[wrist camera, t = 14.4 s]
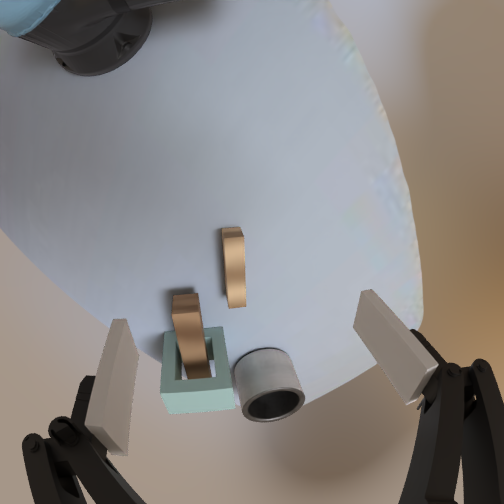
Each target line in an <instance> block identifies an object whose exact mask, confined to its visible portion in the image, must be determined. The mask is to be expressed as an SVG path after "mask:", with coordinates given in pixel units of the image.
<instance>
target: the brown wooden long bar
mask: <svg viewBox="0 0 504 504" xmlns="http://www.w3.org/2000/svg"><path fill="white" fill-rule="evenodd" d="M172 319H173V323H174V327H175V332H176V336H177V340H178V344H179V348H180V352H181V356H182V359H183V363H184V367H185V370H186V374H187V378H188V380H189V379H201V378H212V375H211V370H210V364H209V359H208V353H207V347H206V341H205V335H204V329H203V323H202V316H201V310H200V303H199V296H198V293H194V294H183V295H173V304H172Z"/></svg>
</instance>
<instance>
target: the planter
mask: <svg viewBox="0 0 504 504" xmlns="http://www.w3.org/2000/svg"><path fill="white" fill-rule="evenodd" d="M234 376H235V381H236V385H237V390H238V394H239V399H240V404H241V408H242V413H243V415H244V416H245V417H246V418H247V419H249V420H251V421H255V422H272V421H277V420H280V419H283V418H286V417H288V416H290V415H292V414H293V413H295V412H296V411H298V410H299V409H300V408H301V407H302V405H303V404H304V401H305V395H304V392H303V390H302V387H301V385H300V382H299V380H298V377H297V374H296V372H295V369H294V366H293V364H292V361H291V359H290V357H289V356H288V355H287V354H286V353H285V352H283V351H280V350H276V349H262V350H258V351H255V352H252V353H250V354H248V355H246V356H245V357H243V358H242V359H241V360H240V361H239V362H238V363H237V365H236V367H235V370H234Z"/></svg>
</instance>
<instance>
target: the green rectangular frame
mask: <svg viewBox="0 0 504 504" xmlns="http://www.w3.org/2000/svg"><path fill="white" fill-rule="evenodd" d="M204 335H205V341H206V347H207V353H208V359H209V360H214V362H215V370H216V377H212V378H201V379H189V380H182V362H183V359H182V356H181V352H180V348H179V344H178V340H177V336H176V332H175V331H169V332H165V334H164V344H163V356H162V370H161V386H160V394H161V397H162V399H163V401H164V404H165V406H166V408H167V410H168V412H169V414H179V413H195V412H208V411H219V410H228V409H235V402H234V393H233V386H232V380H231V374H230V369H229V363H228V357H227V351H226V345H225V338H224V332H223V327H214V328H204Z"/></svg>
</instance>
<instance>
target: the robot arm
mask: <svg viewBox="0 0 504 504" xmlns="http://www.w3.org/2000/svg"><path fill="white" fill-rule="evenodd" d="M174 1H180V0H0V29H3V30H5V31H7V33H8V34H10V35H11V36H14V37H19V38H22V39H24V40H27V41H30V42H33V43H35V44H38V45H41V46H43V47H46V48H49V49H51V50H52V51H53V54H54V56H55V58H56V60H57V61H58V63H59V64H60V65H61V66H62V67H63V68H64V69H66V70H68V71H70V72H72V73H75V74H78V75H82V76H96V75H101V74H104V73H107V72H110V71H112V70H114V69H116V68H118V67H119V66H121V65H123V64H124V63H126V62H127V61H128V60H129V59H131V58H132V57H133V56H134V55H135V54H136V53H137V52H138V50H139V49H140V48H141V47H142V45H143V44H144V42H145V41H146V39H147V37H148V35H149V32H150V29H151V25H152V12H151V9H150V6H154V5H159V4H164V3H169V2H174ZM353 328H354V329H355V331H356V332H357V334H358V335H359V337H360V338H361V339H362V341H363V342H364V344H365V345H366V347H367V348H368V349H369V351H370V352H371V354H372V355H373V357H374V358H375V360H376V361H377V363H378V364H379V365H380V367H381V368H382V370H383V371H384V373H385V374H386V376H387V377H388V379H389V380H390V382H391V383H392V385H393V386H394V388H395V389H396V391H397V392H398V394H399V395H400V397H401V398H402V400H403V401H404V403H405V404H406V405H407V404H410V403H412V402H414V401H416V400H417V399H418V398H419V396H420V395H421V393H422V394H423V395H424V398H423V400H422V401H421V403H420V404H419V406H418V407H417V410H419V408H420V407H421V406H422V407H421V414H420V420H419V426H418V431H417V437H416V441H415V446H414V451H413V455H412V459H411V463H410V467H409V471H408V474H407V478H406V482H405V485H404V488H403V491H402V494H401V497H400V500H399V503H398V504H458V503H457V502H456V501H454V494H455V489H456V484H457V478H458V472H459V466H460V458H461V459H462V469H463V487H464V504H504V403H503V400H502V397H501V394H500V391H499V388H498V385H497V382H496V379H495V377H494V374H493V371H492V368H491V366H490V364H489V363H488V362H487V361H485V360H483V359H476V360H475V361H474V362H473V363H472V365H471V366H470V367H463V368H461V367H460V366H458V365H457V364H455V363H447V362H446V361H445V360H444V359H443V358H442V357H441V356H440V354H439V353H438V352H437V351H436V350H435V349H434V348H433V347H432V346H431V344H430V343H429V342H428V341H427V340H426V338H425V337H424V336H423V335H422V334H421V333H419V332H418V331H416V330H415V329H411V330H409V329H408V328H407V327H406V326H405V325H404V323H403V322H402V321H401V320H400V319H399V318H398V317H397V316H396V315H395V313H394V312H393V311H392V310H391V309H390V308H389V307H388V306H387V305H386V304H385V303H384V302H383V300H382V299H381V298H380V297H379V296H378V295H377V294H376V293H375V292H374V291H373V290H372V289H370V290H364V291H361V294H360V299H359V304H358V308H357V312H356V317H355V321H354V325H353ZM138 359H139V354H138V351H137V348H136V346H135V343H134V340H133V337H132V334H131V332H130V329H129V326H128V323H127V320H126V319H113V321H112V324H111V327H110V330H109V334H108V337H107V340H106V343H105V346H104V349H103V353H102V357H101V360H100V363H99V367H98V370H97V374H96V376H86V377H85V378H84V379H83V380H82V382H81V383H80V386H79V389H78V394H77V396H76V401H75V404H74V408H73V411H72V415H71V419H70V418H68V417H66V416H61V417H57V418H55V419H54V420H53V421H51V423H50V425H49V429H48V432H49V436H50V437H51V438H46V439H43V438H42V437H41V436H40V435H38V434H36V433H34V434H32V433H31V434H29V435H27V436H26V437H25V438H24V440H23V442H22V450H23V456H24V462H25V467H26V471H27V476H28V480H29V485H30V488H31V492H32V496H33V499H34V502H35V504H87V502H86V500H85V498H84V495H83V493H82V490H81V487H80V485H79V482H78V479H77V477H78V478H79V479H80V481H81V483H82V484H83V486H84V487H85V489H86V490H87V492H88V493H89V494H90V496H91V497H92V499H93V500H94V501H95V503H96V504H146V503H145V502H144V501H143V500H142V498H141V497H140V496H139V495H138V494H137V493H136V492H135V491H134V490H133V489H132V487H131V486H130V485H129V484H128V483H127V482H126V480H125V479H124V478H123V477H122V476H121V474H120V473H119V472H118V471H117V469H116V468H115V467H114V466H113V464H112V463H111V462H110V460H109V459H108V458H107V457H106V454H107V450H108V451H109V452H110V453H111V454H112V455H119V456H128V442H129V429H130V420H131V410H132V402H133V394H134V386H135V379H136V372H137V365H138ZM474 396H476V400H475V398H474ZM76 475H77V477H76Z"/></svg>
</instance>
